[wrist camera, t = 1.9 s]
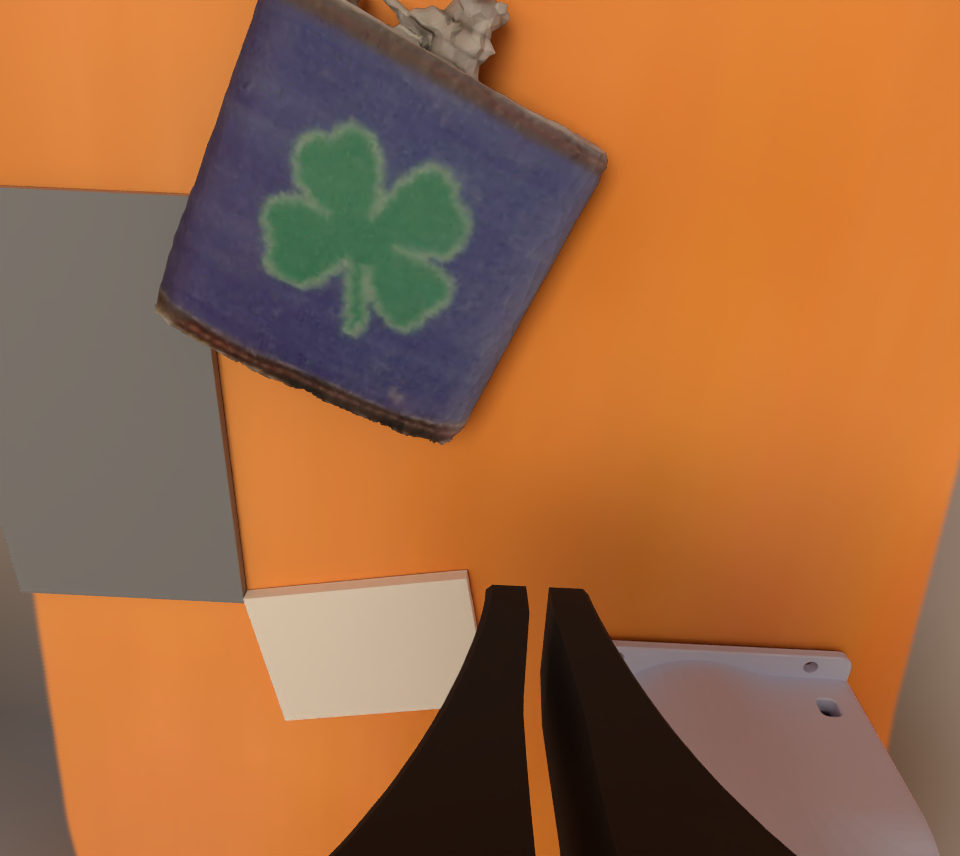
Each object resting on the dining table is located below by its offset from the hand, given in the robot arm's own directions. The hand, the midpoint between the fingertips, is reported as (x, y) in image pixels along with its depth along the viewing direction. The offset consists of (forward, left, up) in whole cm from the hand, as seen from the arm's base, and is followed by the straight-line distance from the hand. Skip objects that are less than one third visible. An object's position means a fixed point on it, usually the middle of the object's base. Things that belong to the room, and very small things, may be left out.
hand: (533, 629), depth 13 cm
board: (+13, +1, -10) cm, 17 cm away
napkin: (+5, +10, -10) cm, 15 cm away
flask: (+6, -1, -9) cm, 11 cm away
